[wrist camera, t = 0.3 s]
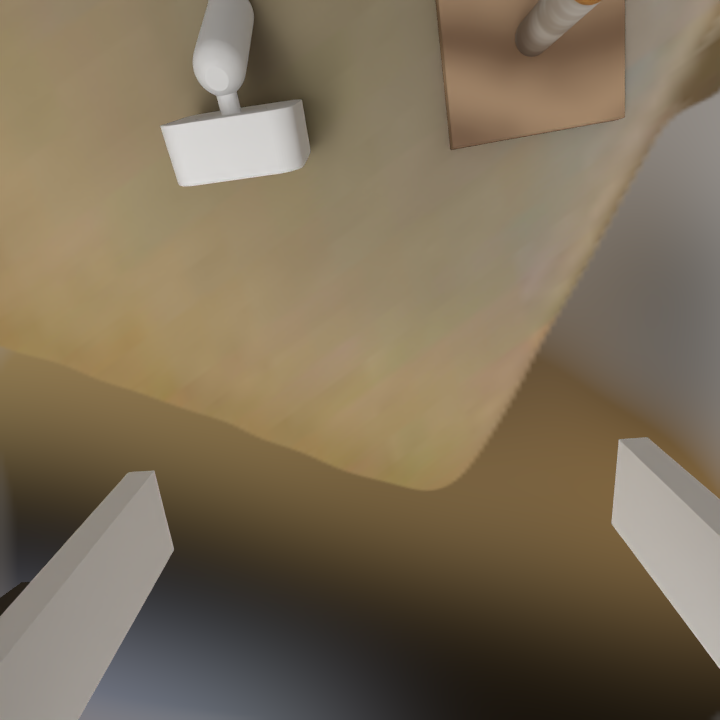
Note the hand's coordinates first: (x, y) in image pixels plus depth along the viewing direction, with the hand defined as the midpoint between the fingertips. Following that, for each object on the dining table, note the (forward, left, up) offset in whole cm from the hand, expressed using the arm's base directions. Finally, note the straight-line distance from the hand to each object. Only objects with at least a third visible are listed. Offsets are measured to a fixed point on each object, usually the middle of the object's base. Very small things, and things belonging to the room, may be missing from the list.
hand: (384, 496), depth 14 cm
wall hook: (-17, -7, -27) cm, 33 cm away
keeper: (-17, +13, -27) cm, 34 cm away
